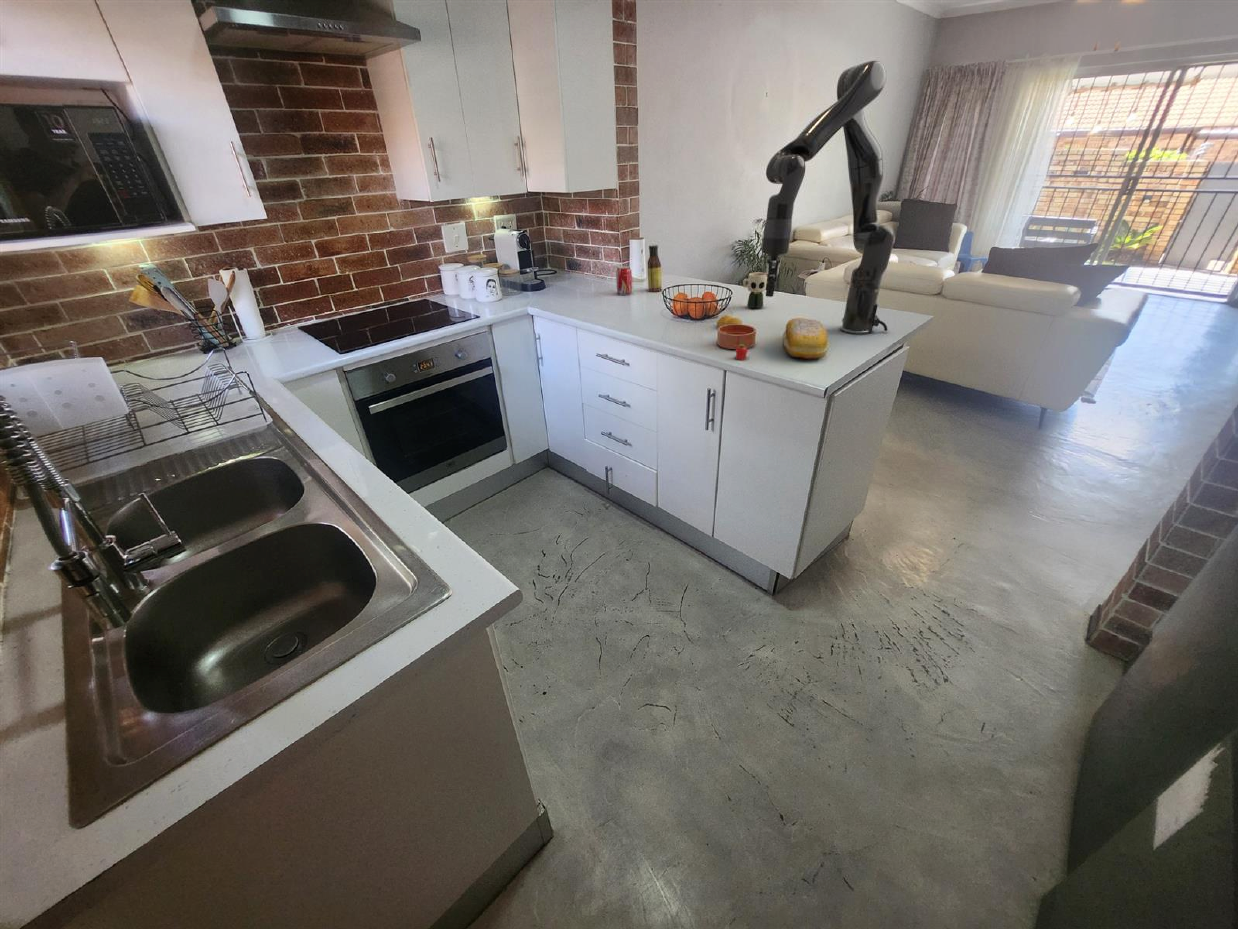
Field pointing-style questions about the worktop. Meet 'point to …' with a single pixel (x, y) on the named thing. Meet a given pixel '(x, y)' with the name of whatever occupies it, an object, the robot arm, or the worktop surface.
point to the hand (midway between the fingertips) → (769, 293)
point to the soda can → (624, 280)
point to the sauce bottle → (654, 270)
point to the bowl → (736, 336)
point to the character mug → (756, 288)
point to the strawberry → (741, 352)
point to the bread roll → (728, 321)
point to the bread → (805, 338)
